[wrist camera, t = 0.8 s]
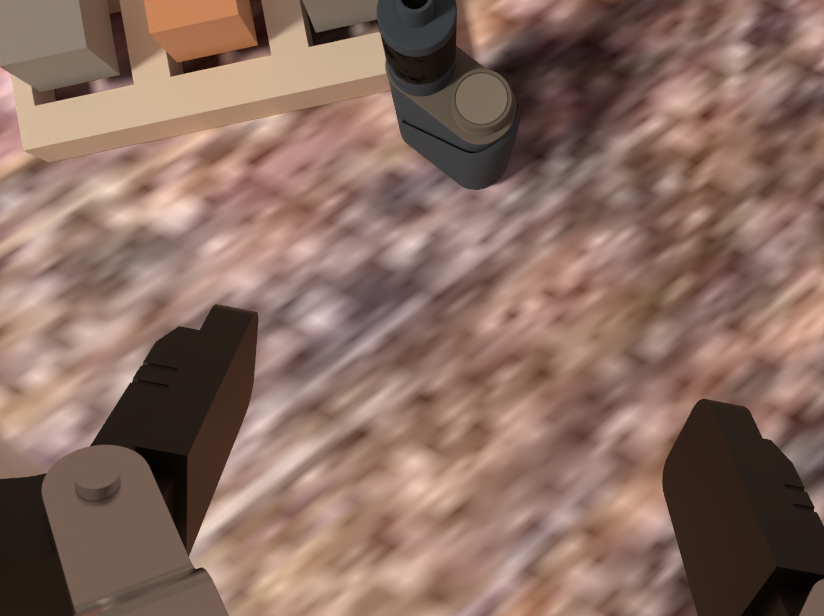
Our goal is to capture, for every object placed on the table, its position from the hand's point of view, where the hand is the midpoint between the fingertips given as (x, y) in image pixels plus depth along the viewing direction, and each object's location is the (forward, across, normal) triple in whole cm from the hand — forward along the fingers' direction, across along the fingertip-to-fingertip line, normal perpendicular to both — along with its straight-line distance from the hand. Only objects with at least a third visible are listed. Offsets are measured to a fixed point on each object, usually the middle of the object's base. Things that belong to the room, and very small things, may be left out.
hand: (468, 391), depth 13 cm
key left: (+21, +17, +2) cm, 27 cm away
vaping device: (+21, 0, +3) cm, 21 cm away
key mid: (+21, +11, 0) cm, 24 cm away
